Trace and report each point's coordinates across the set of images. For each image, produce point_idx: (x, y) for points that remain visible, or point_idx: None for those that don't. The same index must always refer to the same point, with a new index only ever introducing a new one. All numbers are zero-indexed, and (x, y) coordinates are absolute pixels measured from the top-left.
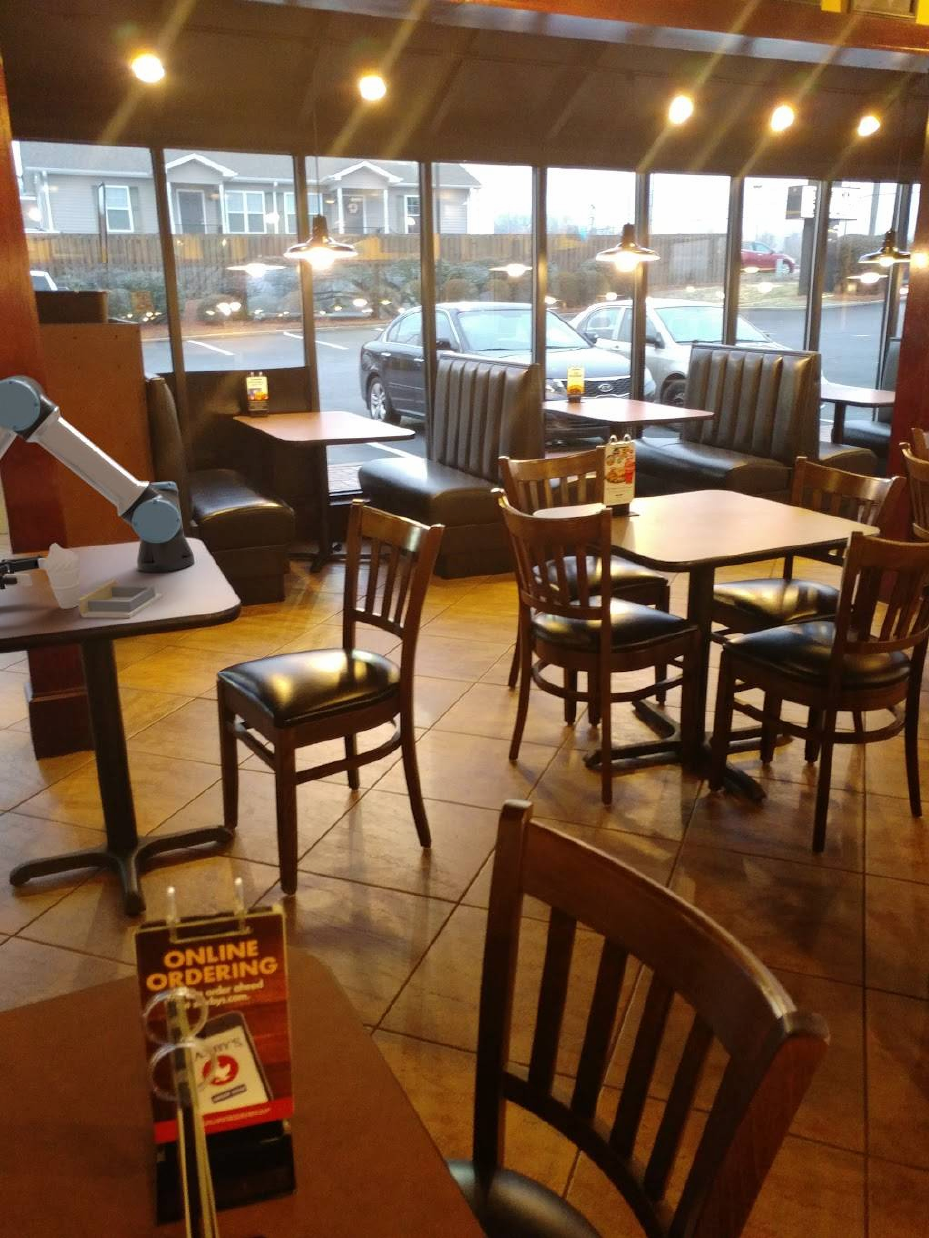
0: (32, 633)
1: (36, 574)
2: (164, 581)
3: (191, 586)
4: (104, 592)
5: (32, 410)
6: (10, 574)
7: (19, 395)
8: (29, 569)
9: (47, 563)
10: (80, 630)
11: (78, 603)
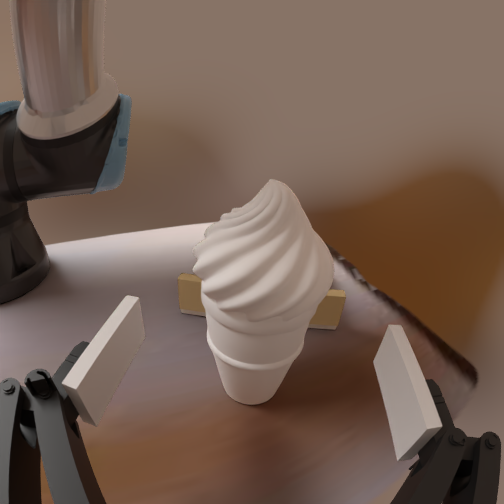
0: (445, 366)
1: None
2: (105, 269)
3: (158, 244)
4: None
5: None
6: (425, 399)
7: None
8: (92, 470)
9: (330, 263)
10: (397, 308)
11: (343, 304)
